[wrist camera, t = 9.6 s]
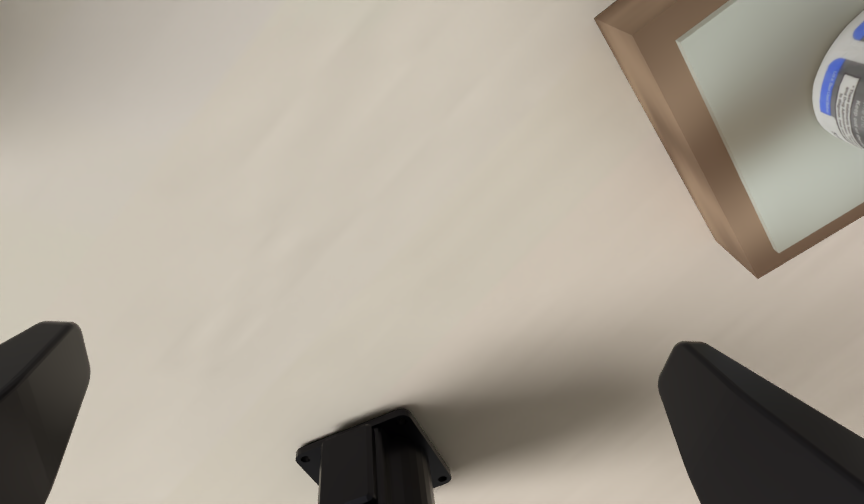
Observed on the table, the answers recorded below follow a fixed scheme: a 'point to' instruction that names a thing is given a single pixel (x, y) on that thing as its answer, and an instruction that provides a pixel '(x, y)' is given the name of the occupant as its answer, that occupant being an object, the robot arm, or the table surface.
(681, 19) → the pedestal
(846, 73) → the pill bottle
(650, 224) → the table surface
